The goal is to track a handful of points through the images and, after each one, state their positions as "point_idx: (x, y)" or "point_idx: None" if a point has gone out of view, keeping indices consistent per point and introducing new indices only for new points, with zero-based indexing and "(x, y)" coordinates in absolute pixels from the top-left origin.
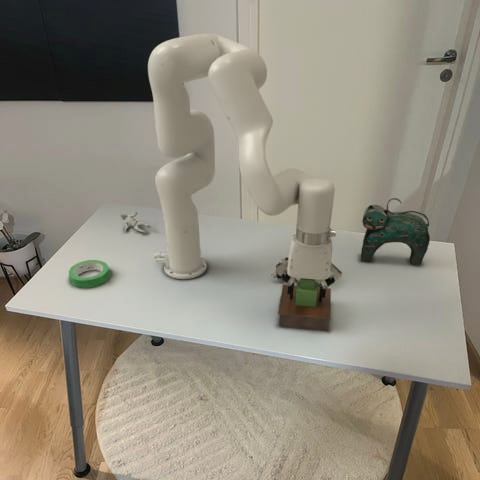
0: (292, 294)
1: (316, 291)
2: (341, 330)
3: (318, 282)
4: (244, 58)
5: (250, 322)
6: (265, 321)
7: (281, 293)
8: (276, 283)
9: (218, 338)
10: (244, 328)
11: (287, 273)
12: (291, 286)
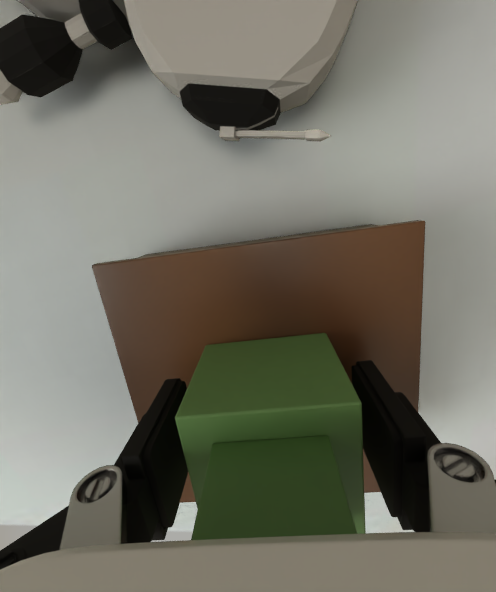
0: (187, 469)
1: (359, 533)
2: (432, 402)
3: (323, 138)
4: None
5: (84, 434)
6: (132, 418)
7: (120, 361)
8: (61, 113)
9: (30, 517)
10: (80, 465)
11: (71, 33)
12: (153, 537)
